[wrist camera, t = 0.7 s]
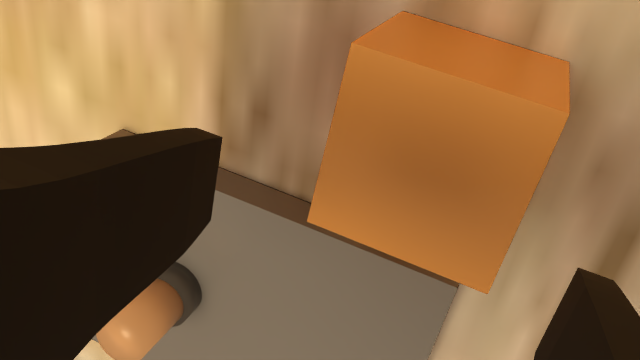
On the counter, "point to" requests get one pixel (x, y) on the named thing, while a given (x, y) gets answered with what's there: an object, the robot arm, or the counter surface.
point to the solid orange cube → (439, 145)
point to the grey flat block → (279, 291)
